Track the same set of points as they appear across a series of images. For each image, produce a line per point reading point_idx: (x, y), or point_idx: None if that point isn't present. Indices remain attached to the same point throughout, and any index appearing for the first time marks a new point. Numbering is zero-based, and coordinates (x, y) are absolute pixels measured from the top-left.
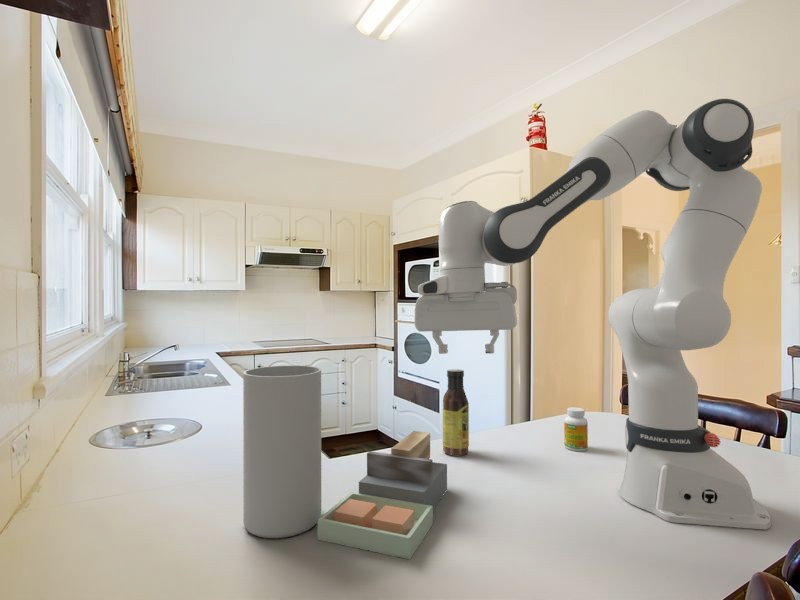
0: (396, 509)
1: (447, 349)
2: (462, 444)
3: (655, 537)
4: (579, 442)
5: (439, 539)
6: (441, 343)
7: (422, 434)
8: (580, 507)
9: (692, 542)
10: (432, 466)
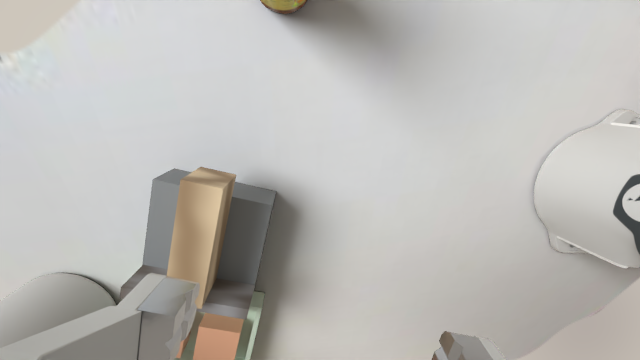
0: (216, 334)
1: (191, 293)
2: (299, 2)
3: (515, 283)
4: None
5: (276, 321)
6: (127, 357)
7: (207, 204)
8: (462, 221)
9: (548, 287)
10: (246, 220)
